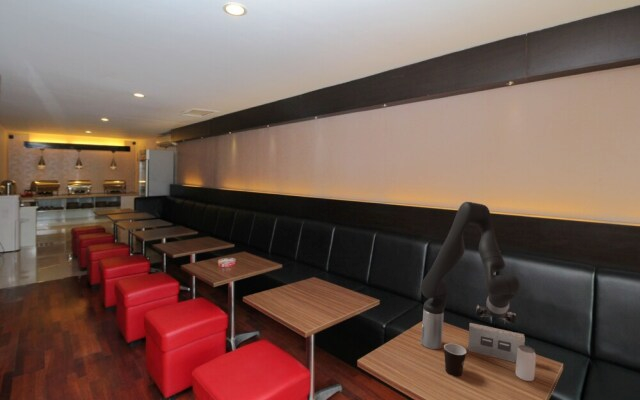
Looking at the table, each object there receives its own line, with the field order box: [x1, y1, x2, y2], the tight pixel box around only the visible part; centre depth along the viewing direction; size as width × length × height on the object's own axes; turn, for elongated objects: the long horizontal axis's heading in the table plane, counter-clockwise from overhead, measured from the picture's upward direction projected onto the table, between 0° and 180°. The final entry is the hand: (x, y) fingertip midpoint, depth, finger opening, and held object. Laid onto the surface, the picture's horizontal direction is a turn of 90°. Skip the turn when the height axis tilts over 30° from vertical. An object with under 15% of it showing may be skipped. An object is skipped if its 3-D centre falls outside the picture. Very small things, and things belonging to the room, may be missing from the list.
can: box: [515, 344, 537, 382], centre depth 127 cm, size 6×6×12 cm
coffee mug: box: [443, 343, 467, 378], centre depth 130 cm, size 12×9×10 cm
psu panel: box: [467, 322, 526, 364], centre depth 142 cm, size 22×4×12 cm, turn 63°
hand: (493, 320), depth 132 cm, fingers open, 8 cm apart
